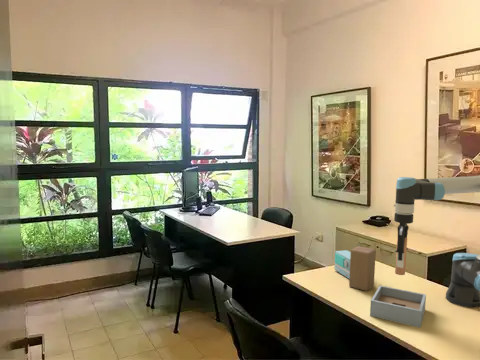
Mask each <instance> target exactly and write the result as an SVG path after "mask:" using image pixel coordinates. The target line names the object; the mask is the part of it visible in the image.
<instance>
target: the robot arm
mask: <svg viewBox="0 0 480 360" xmlns="http://www.w3.org/2000/svg"><path fill="white" fill-rule="evenodd" d="M469 193H470V194H472V193H474V194H475V193H480V174H479V175H474V176H473V175H472V176H453V177H450V176H449V177H434V178H433V177H432V178H415V177H412V176H411V177H409V176H399V177H398V178H397V179H396V185H395V202H394V203H395V204H393V207H395V209H394V212H395V213H394V219H393V220H394V222H396V223H398V226H397V237H398V240H397V241H396V250H395V253H396V252H397V265H396V264H395V267H400V268H403V265H404V244H405V238H407V239H408V234H409V225H408V224H413V223H414V212H415V200H416V201H417V200H419V201H420V200H421V201H441V200H442V199H444V197H445V195H451V194H469ZM408 250H409V249H408V247H407V251H408ZM451 264H452V265H451V275H450V277H451V279H450V284H449V286H448V288H447V290H446V292H445V299H446V300H447V301H448V302H450V303H452V304H454V305H456V306H461V307H464V308H465V307H466V308H480V254H476V253H471V252H469V253H467V252H456V253H454V254H453V256H452V263H451Z"/></svg>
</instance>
